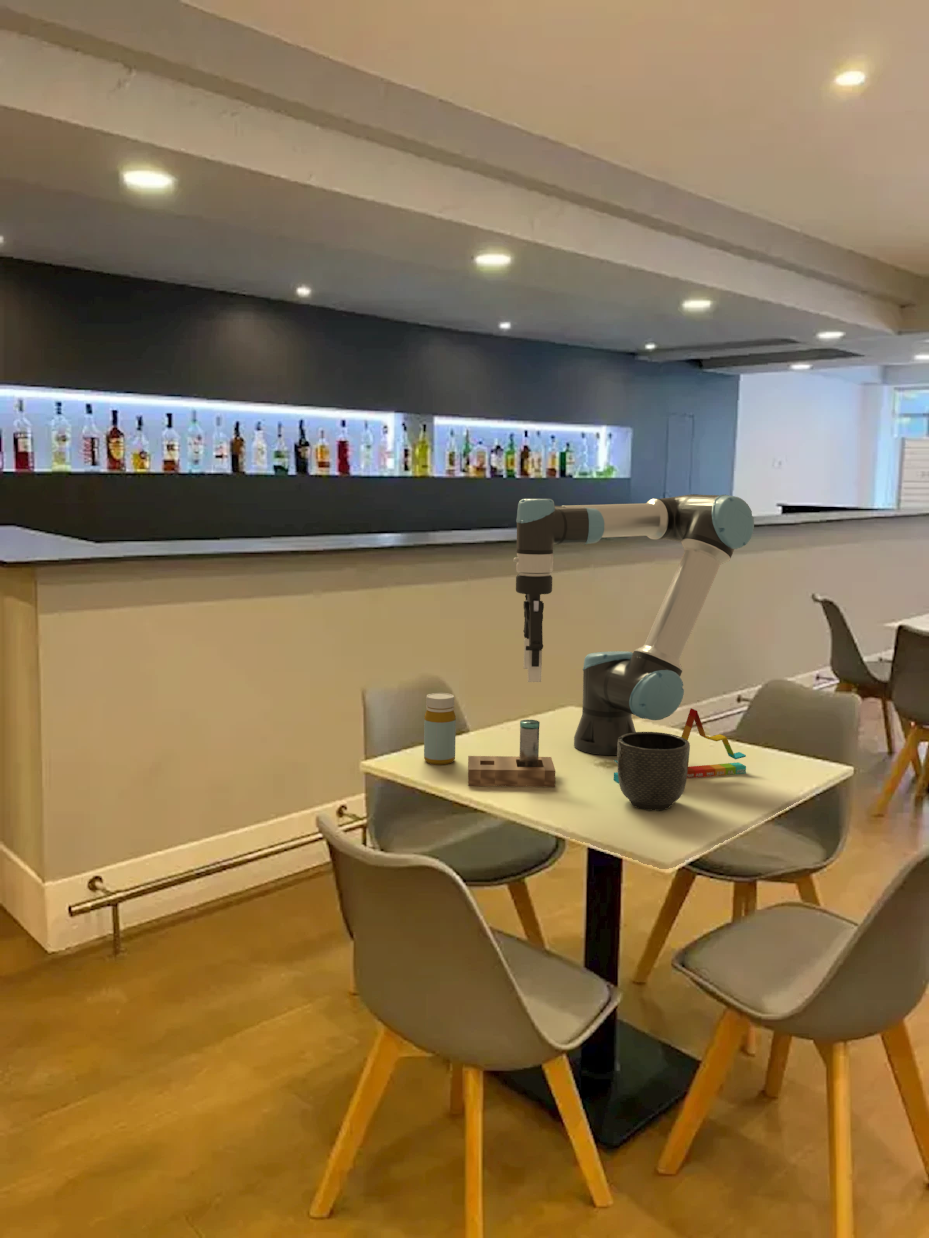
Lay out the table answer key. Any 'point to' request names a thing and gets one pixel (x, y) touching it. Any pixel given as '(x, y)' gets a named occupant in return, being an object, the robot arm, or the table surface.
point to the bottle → (439, 729)
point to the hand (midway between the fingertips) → (532, 675)
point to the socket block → (509, 772)
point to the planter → (652, 768)
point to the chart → (708, 769)
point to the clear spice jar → (529, 743)
